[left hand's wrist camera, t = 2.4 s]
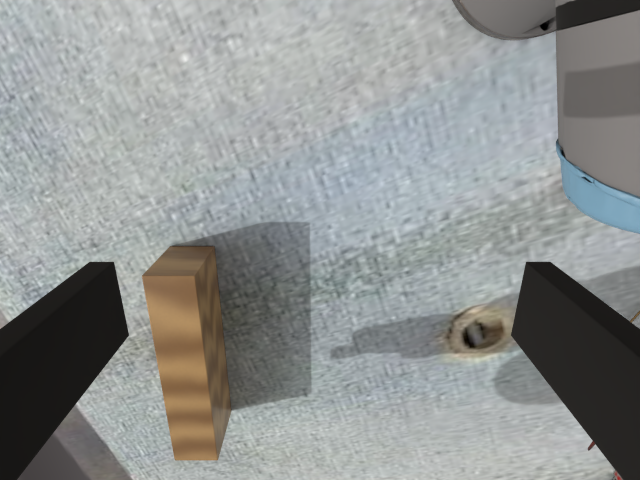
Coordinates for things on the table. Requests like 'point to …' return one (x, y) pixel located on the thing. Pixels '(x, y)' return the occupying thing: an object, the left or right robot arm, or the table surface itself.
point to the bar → (190, 349)
